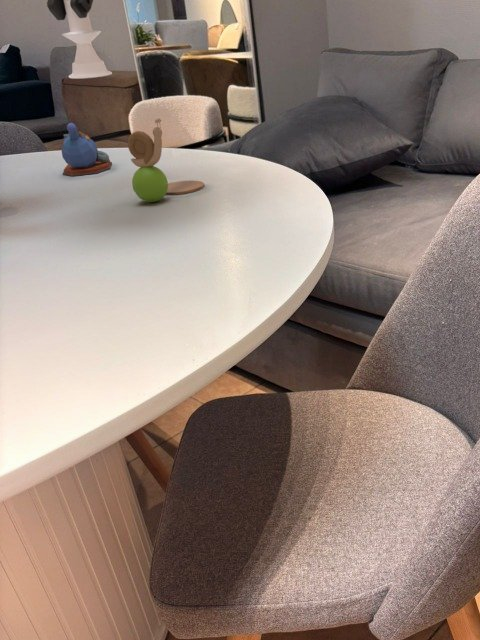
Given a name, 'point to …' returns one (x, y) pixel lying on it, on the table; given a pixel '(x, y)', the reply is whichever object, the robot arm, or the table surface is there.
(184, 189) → the coaster
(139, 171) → the snail figurine
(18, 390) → the table surface
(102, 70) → the candle
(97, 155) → the model
